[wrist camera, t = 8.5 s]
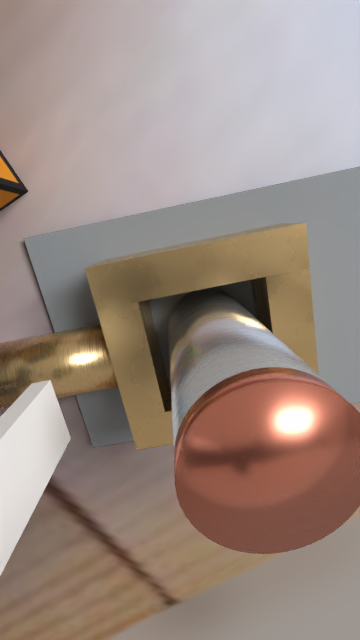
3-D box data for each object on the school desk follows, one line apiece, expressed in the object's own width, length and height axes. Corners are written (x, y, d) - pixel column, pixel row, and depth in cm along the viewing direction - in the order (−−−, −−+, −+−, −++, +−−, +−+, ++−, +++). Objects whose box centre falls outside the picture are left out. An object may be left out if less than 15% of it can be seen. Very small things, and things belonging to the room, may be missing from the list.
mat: (94, 443, 22) (93, 447, 21) (26, 238, 18) (23, 238, 17) (390, 393, 21) (394, 396, 20) (387, 161, 17) (392, 159, 16)
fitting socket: (41, 430, 21) (13, 470, 17) (-15, 284, 18) (-61, 297, 15) (297, 385, 20) (322, 418, 17) (280, 223, 17) (305, 222, 14)
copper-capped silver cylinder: (176, 369, 19) (195, 569, 8) (160, 297, 18) (154, 407, 7) (249, 354, 19) (379, 532, 8) (239, 280, 18) (372, 363, 7)
